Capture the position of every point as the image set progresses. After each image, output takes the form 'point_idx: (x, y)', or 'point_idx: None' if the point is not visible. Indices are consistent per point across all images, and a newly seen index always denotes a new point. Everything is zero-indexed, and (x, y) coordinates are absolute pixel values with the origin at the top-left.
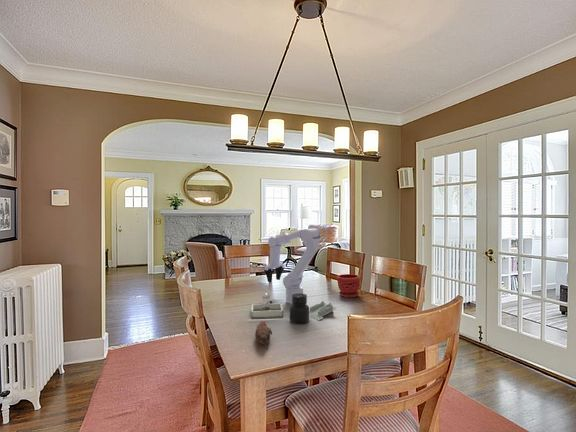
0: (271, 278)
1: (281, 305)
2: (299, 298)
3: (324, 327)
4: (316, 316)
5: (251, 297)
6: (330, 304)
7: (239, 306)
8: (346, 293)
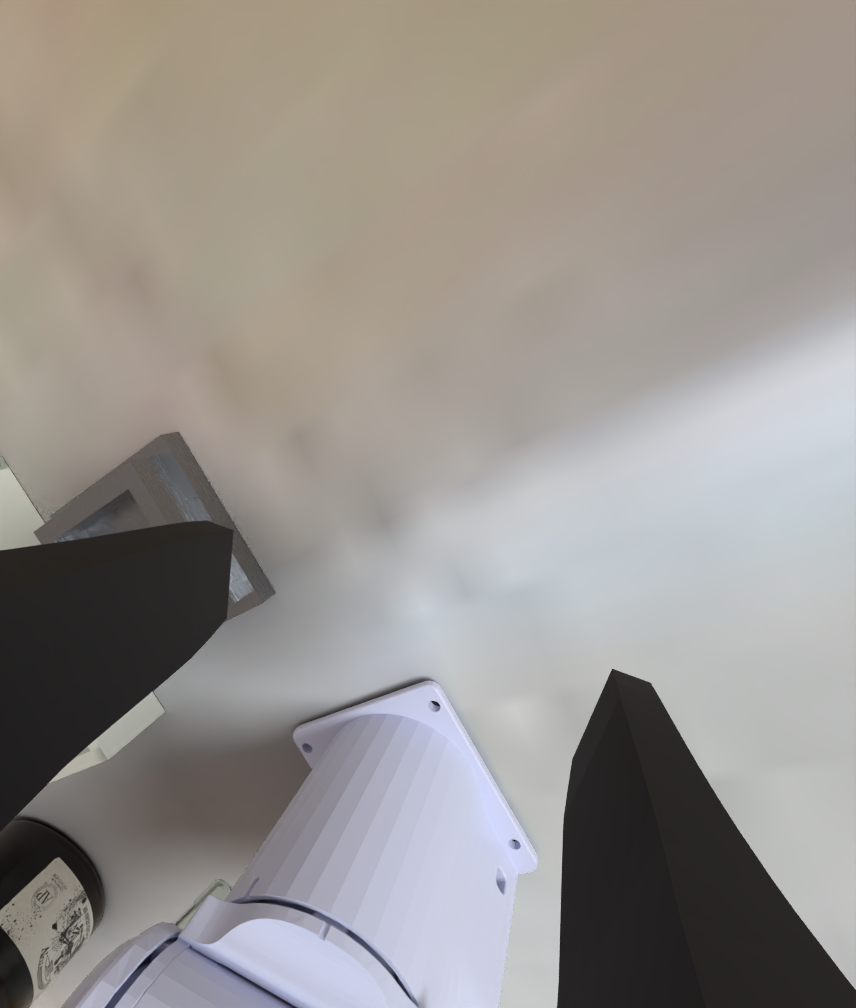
0: (121, 703)
1: (58, 774)
2: None
3: (59, 997)
4: None
5: (431, 63)
6: None
7: (21, 220)
8: None
